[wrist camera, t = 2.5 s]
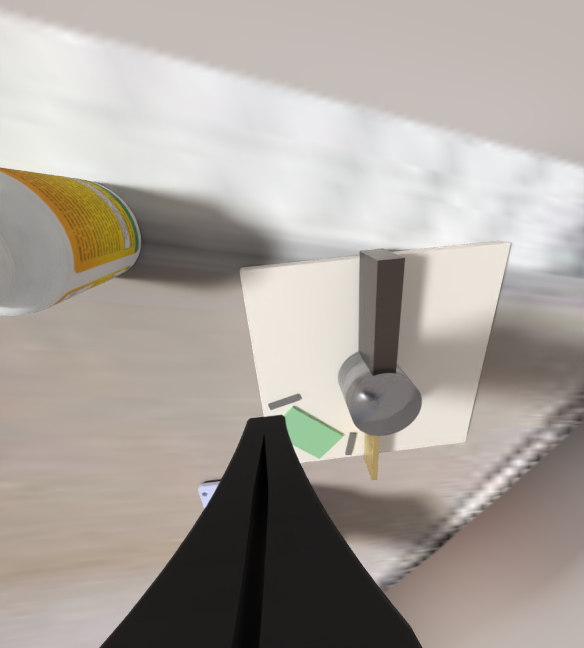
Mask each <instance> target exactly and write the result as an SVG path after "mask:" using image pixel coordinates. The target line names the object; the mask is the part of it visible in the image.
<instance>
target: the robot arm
mask: <svg viewBox="0 0 584 648" xmlns="http://www.w3.org/2000/svg"><path fill="white" fill-rule="evenodd" d="M198 491H199V494H200V497H201V500H202V503H203V506H204V510H203V512H202V514H201V515H200V517H199V518H198V520H197V522H196V523H195V525H194V526H193V528H192V529H191V531H190V532H189V534H188V535H187V537H186V538H185V539H184V541H183V542H182V544H181V545H180V547H179V548H178V550H177V551H176V553H175V554H174V555H173V557H172V558H171V559H170V561H169V562H168V564H167V565H166V566H165V568H164V569H163V570H162V572H161V573H160V574H159V576H158V577H157V578H156V579H155V581H154V582H153V583H152V584H151V586H150V587H149V588H148V590H147V591H146V592H145V593H144V595H143V596H142V597H141V599H140V600H139V601H138V602H137V604H136V605H135V606H134V608H133V609H132V610H131V611H130V612H129V614H128V615H127V616H126V617H125V619H124V620H123V621H122V622H121V623H120V624H119V626H118V627H117V628H116V629H115V630H114V631H113V633H112V634H111V635H110V636H109V637H108V638H107V640H106V641H105V642H104V643H103V644H102V645H101V647H100V648H422V646H421V644H420V643H419V641H418V639H417V637H416V635H415V634H414V632H413V630H412V628H411V627H410V625H409V624H408V623H407V621H406V620H405V619H404V618H403V616H402V615H401V614H400V613H399V612H398V610H397V609H396V608H395V607H394V606H393V605H392V603H391V602H390V600H389V599H388V598H387V597H386V595H385V594H384V593H383V592H382V590H381V589H380V588H379V587H378V585H377V584H376V583H375V581H374V580H373V579H372V577H371V576H370V575H369V573H368V572H367V571H366V569H365V568H364V567H363V565H362V564H361V563H360V561H359V560H358V558H357V557H356V555H355V554H354V553H353V551H352V550H351V548H350V547H349V545H348V544H347V543H346V541H345V540H344V538H343V537H342V535H341V534H340V532H339V531H338V529H337V528H336V526H335V525H334V523H333V522H332V520H331V518H330V517H329V515H328V514H327V512H326V510H325V509H324V507H323V505H322V504H321V502H320V500H319V499H318V497H317V495H316V493H315V491H314V490H313V488H312V486H311V484H310V482H309V480H308V478H307V476H306V474H305V472H304V470H303V468H302V466H301V464H300V462H299V459H298V457H297V455H296V452H295V450H294V447H293V445H292V442H291V439H290V436H289V433H288V430H287V426H286V419H285V416H283V415H274V416H266V417H258V418H250V419H249V420H248V421H247V424H246V427H245V429H244V432H243V435H242V437H241V439H240V442H239V444H238V446H237V449H236V451H235V453H234V455H233V457H232V459H231V461H230V463H229V465H228V467H227V470H226V471H225V473H224V475H223V477H222V479H221V481H218V482H210V483H203V484H201V485H200V486H199V489H198Z"/></svg>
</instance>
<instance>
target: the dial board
mask: <svg viewBox="0 0 584 648" xmlns="http://www.w3.org/2000/svg"><path fill="white" fill-rule="evenodd" d="M510 245H511V243H510V242H503V241H491V242H482V243H472V244H462V245H453V246H443V247H433V248H424V249H414V250H404V251H395V252H392V253H395V254H397V255H400V256H402V257H405V267H404V280H403V292H402V305H401V317H400V330H399V342H398V355H397V364H398V365H399V366H400V367H401V369H402V370H403V371H404V372H405V374H406V375H407V376H408V377H409V379H410V380H411V381H412V382H413V384H414V385H415V386H416V388H417V389H418V390H419V392H420V394H421V397H422V406H421V410H420V412H419V414H418V416H417V417H416V419H415V420H414V421H413V422H412V423H411V424H410V425H409V426H407V427H406V428H405V429H403V430H401V431H399V432H397V433H394V434H390V435H385V436H380V437H379V453H382V452H390V451H398V450H406V449H414V448H422V447H429V446H437V445H445V444H453V443H461V442H465V439H466V435H467V431H468V426H469V422H470V418H471V413H472V409H473V405H474V400H475V396H476V392H477V387H478V383H479V379H480V374H481V370H482V366H483V361H484V357H485V353H486V348H487V344H488V340H489V336H490V331H491V327H492V323H493V318H494V314H495V310H496V305H497V301H498V297H499V292H500V288H501V284H502V279H503V275H504V271H505V266H506V262H507V258H508V253H509V249H510ZM359 263H360V255H356V256H346V257H337V258H327V259H317V260H308V261H298V262H288V263H279V264H269V265H259V266H250V267H241V269H240V277H241V283H242V289H243V295H244V301H245V307H246V313H247V319H248V325H249V331H250V337H251V343H252V349H253V355H254V360H255V366H256V372H257V378H258V384H259V390H260V396H261V402H262V408H263V414H264V417H266V416H274V415H283V416H285V419H286V426H287V430H288V433H289V436H290V439H291V442H292V445H293V447H294V450H295V452H296V455H297V457H298V459H299V462H300V463H303V462H310V461H318V460H326V459H334V458H342V457H350V456H358V455H364V437H365V433H364V432H362V431H360V430H359V429H358V428H357V427H356V426H355V424H354V423H353V421H352V418H351V415H350V413H349V410H348V408H347V405H346V402H345V400H344V397H343V394H342V392H341V389H340V386H339V383H338V373H339V370H340V368H341V366H342V364H343V363H344V362H345V360H346V359H347V358H349V357H350V356H351V355H353V354H354V353H356V352H358V342H359Z"/></svg>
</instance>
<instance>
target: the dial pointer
mask: <svg viewBox="0 0 584 648" xmlns="http://www.w3.org/2000/svg"><path fill="white" fill-rule="evenodd" d="M404 267H405V257H402V256H400V255H397V254H395V253H392V252H390V251H387V250H385V249H375V250H365V251H360V263H359V342H358V352H356V353H354V354H353V355H351V356H350V357H349V358H347V359H346V360H345V362H344V363H343V364H342V366H341V368H340V370H339V373H338V383H339V386H340V389H341V392H342V394H343V397H344V400H345V402H346V405H347V408H348V410H349V413H350V415H351V418H352V421H353V423H354V424H355V426H356V427H357V428H358V429H359V430H360V431H362V432H364V433H365V437H364V460H365V463H366V465H367V468H368V471H369V474H370V476H371V479H372V480H377V472H378V454H379V437H380V436H385V435H390V434H394V433H397V432H399V431H401V430H403V429H405V428H406V427H407V426H409V425H410V424H411V423H412V422H413V421H414V420H415V419H416V417H417V416H418V414H419V412H420V410H421V406H422V397H421V394H420V392H419V390H418V389H417V388H416V386H415V385H414V384H413V382H412V381H411V380H410V379H409V377H408V376H407V375H406V374H405V372H404V371H403V370H402V369H401V367H400V366H399V365H398V364H397V355H398V342H399V330H400V317H401V305H402V292H403V280H404Z"/></svg>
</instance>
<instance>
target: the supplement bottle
mask: <svg viewBox="0 0 584 648" xmlns="http://www.w3.org/2000/svg"><path fill="white" fill-rule="evenodd" d="M140 249H141V235H140V230H139V226H138V224H137V221H136V218H135V216H134V214H133V213H132V211H131V210H130V208H129V207H128V205H127V204H126V203H125V202H124V201H123V200H122V199H121V198H120V197H119V196H118V195H117V194H115V193H114V192H113V191H111V190H110V189H108V188H106V187H104V186H102V185H100V184H98V183H95V182H91V181H87V180H82V179H75V178H69V177H63V176H55V175H48V174H41V173H34V172H28V171H21V170H14V169H7V168H0V315H4V316H16V315H25V314H30V313H35V312H38V311H41V310H44V309H46V308H48V307H51V306H53V305H55V304H58V303H60V302H62V301H64V300H66V299H69V298H71V297H73V296H75V295H77V294H80V293H82V292H84V291H86V290H88V289H90V288H93V287H95V286H97V285H99V284H102V283H104V282H106V281H108V280H110V279H113V278H115V277H117V276H119V275H121V274H122V273H124V272H126V271H127V270H129V269H130V268H131V267H132V266H133V264H134V263H135V262H136V260H137V258H138V256H139V253H140Z"/></svg>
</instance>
